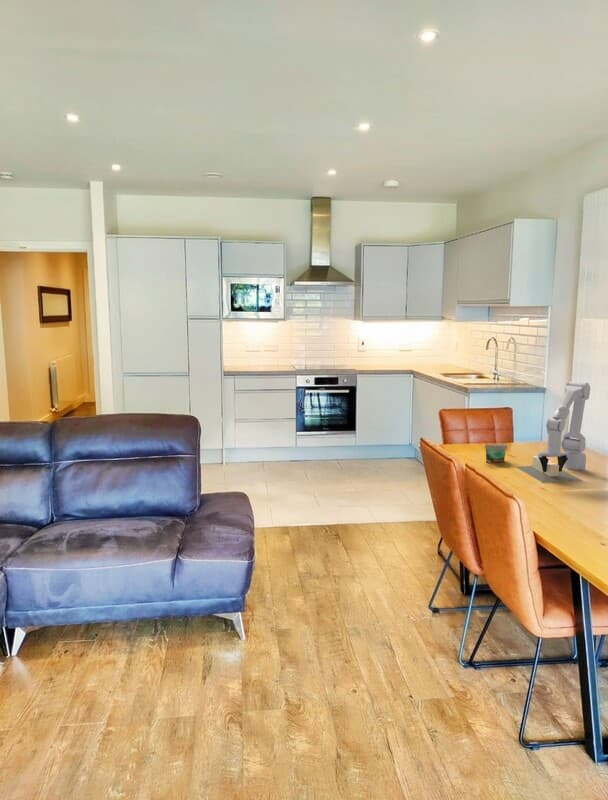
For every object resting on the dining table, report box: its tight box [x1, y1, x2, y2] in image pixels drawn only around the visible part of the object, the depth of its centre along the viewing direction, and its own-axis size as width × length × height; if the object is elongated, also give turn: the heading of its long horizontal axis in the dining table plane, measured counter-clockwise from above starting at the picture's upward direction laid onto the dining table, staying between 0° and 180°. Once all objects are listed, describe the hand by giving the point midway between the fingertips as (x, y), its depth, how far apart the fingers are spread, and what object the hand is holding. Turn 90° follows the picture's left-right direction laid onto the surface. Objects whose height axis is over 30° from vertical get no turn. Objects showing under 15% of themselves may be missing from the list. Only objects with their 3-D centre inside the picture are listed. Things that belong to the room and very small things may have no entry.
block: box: [544, 462, 559, 476], centre depth 263 cm, size 4×5×5 cm
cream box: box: [531, 455, 554, 473], centre depth 271 cm, size 4×11×6 cm, turn 6°
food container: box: [484, 442, 508, 465], centre depth 285 cm, size 12×6×10 cm, turn 105°
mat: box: [515, 465, 584, 484], centre depth 266 cm, size 20×26×1 cm
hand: (551, 471), depth 262 cm, fingers open, 7 cm apart
